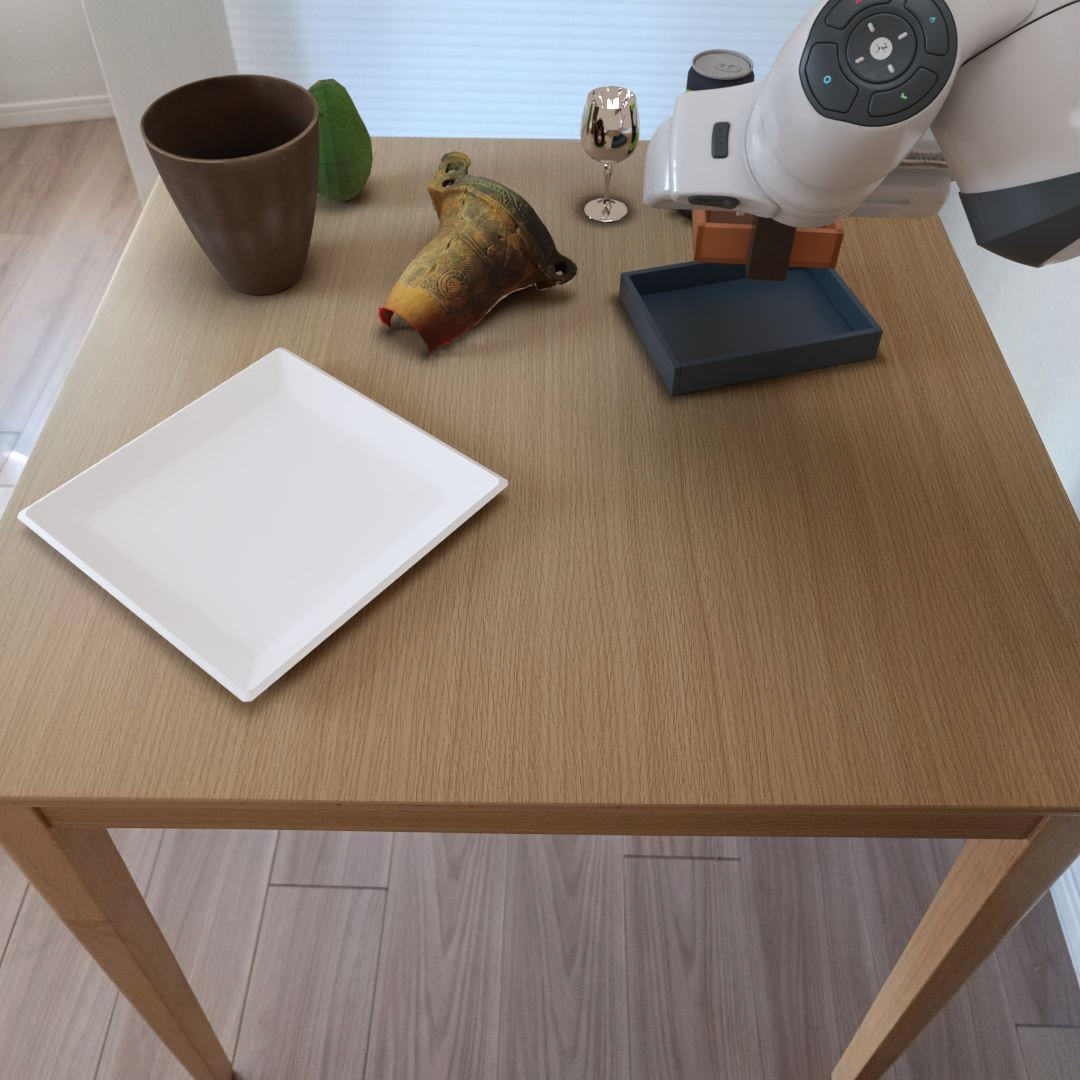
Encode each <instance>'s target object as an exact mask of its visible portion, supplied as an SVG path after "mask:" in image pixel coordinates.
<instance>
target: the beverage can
mask: <svg viewBox="0 0 1080 1080" xmlns="http://www.w3.org/2000/svg"><path fill="white" fill-rule="evenodd" d="M753 69H754V62H753V60H752V59H751V58H750V57H749V56H748V55H746V54H744V53H743V52H739V51H736V50H731V49H723V48H715V49H708V50H704V51H701V52H698V53H697V54H695V55H694V56H693V57H692V59H691V66H690V68H689V69H688V71H687V77H686V87H685V92H690V91H700V90H706V89H715V88H723V87H730V86H738V85H743V84H747V83H751V82H754V81H755V72H754V70H753ZM679 210H680V211H681V213H682V214H684V215H686V216H687V217H689V218H692V210H687V209H679Z"/></svg>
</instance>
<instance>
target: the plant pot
mask: <svg viewBox="0 0 1080 1080" xmlns="http://www.w3.org/2000/svg"><path fill="white" fill-rule="evenodd" d="M139 131H140V134H141V137H142V139H143V141H144V144H145V146H146V148H147V151H148V152H149V155H150V157H151V159H152V161H153V163H154V166H155V167H156V170H157V172H158V174H159V177H160V178H161V181H162V182H163V185H164V186H165V189H166V190H167V192H168V194H169V196H170V198H171V200H172V202H173V204H174V206H175V207H176V210H177V211H178V212H179V214H180V216H181V218H182V220H183V221H184V223H185V225H186V226H187V228H188V230H189V231H190V233H191V234H192V236H193V238H194V239H195V241H196V242H197V244H198V245H199V247H200V248H201V250H202V251H203V253H204V254H205V256H206V257H207V259H209V261H210V262H211V264H212V266H214V268H215V270H216V271H217V272H218V273H219V274H220V276H221V277H222V278H223V279H224V281H225V283H227V285H228V286H229V287H230V288H231V289H233V290H235V291H236V292H239V293H242V294H244V295H250V296H269V295H273V294H277V293H281V292H283V291H285V290H287V289H289V288H291V287H292V286H294V285H296V283H298V282H299V280H300V279H301V278H302V276H303V275H304V274H303V273H304V271H305V266H306V262H307V259H308V255H309V250H310V245H311V240H312V235H313V229H314V223H315V216H316V209H317V199H318V198H317V197H318V194H317V190H318V174H319V108H318V104H317V101H316V99H315V98H314V97H313V95H312V94H311V93H310V92H309V91H308V89H306V88H305V87H304V86H301V85H300V84H298V83H295V82H293V81H291V80H288V79H286V78H281V77H277V76H271V75H264V74H253V73H252V74H250V73H249V74H248V73H246V74H243V73H242V74H226V75H225V74H224V75H219V76H211V77H207V78H203V79H198V80H195V81H192V82H189V83H185V84H183V85H180V86H178V87H176V88H173V89H172V90H170V91H167V92H165V93H164V94H163V95H161V96H159V97H158V98H156V99H155V100H154V101H153V102H152V103H151V104H150V105H149V106H148V107H147V108H146V110H144V112H143V114H142V116H141V119H140V124H139Z"/></svg>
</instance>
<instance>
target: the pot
mask: <svg viewBox="0 0 1080 1080" xmlns="http://www.w3.org/2000/svg"><path fill="white" fill-rule="evenodd" d="M472 164H473V161H472V160H471V158H470V156H469V155H468V154H466V153H464V152H462V151H450V152H447V153H445V154H443V155H442V156H441V158H440V163H439V164H438V166H437V168H436V172H435V174H434V175H433V180H431V181H429V182H427V184H426V188H427V190H426V193H427V194H428V196H429V201H430V202H431V205H432V207H433V210H434V212H436V216H437V220H438V221H439V223H438V229H437V231H436V233H435V235H434V236H433V237H432V238H431V239H430V240H429V241H428V242H427V243H426V244H425V245H424V246H423V247H422V249H421V250H420V251H419V252H418V253H417V254H416V255H415V257H414V258H412V260H411V262H410V263H409V264H408V266H407V267H406V269H405V270H404V271H403V273H402V274H401V276H399V278H398V280H397V281H396V283H395V284H394V285H393V287H392V289H391V291H390V293H389V295H388V296H387V298H386V300H385V304H384V306H382V307H378V312H377V314H378V318H379V320H380V322H381V323H382V324H384V325H386V326H387V327H388V328H389V330H390V329H392V324H391V322H392V318H393V316H394V314H396V315H398V316H399V317H401V318H403V320H404V321H405V322H406V323H408V324H409V325H410V326H411V327H412V328H413V329H414V330H415V331H416V332H417V333H418V334H419V336H420V337H421V338H422V340H423V342H424V344H425V345H426V347H427V351H428V352H429V355H431V354H432V353H433V352H434V351H435V350H437V348H439V347H441V346H443V345H450V344H451V343H452V341H453V340H454V339H456V338H457V339H458V338H459V337H460V336H462V334H465V332H466V331H468V329H471V328H472V327H474V326H476V325H478V323H480V322H481V321H482V320H483V319H484V317H485V315H488V313H489V312H490V311H491V310H492V309H493V308H495V307H496V306H497V304H498V303H499V302H500V301H501V300H503V299H504V298H507V297H508V295H510V294H513V293H514V292H519V291H521V290H526V289H527V288H528V287H529V288H530V287H533V284H534V286H535V287H536V290H537V291H539V292H540V291H546V290H549V289H551V288H555V287H556V286H561V287H562V286H563V285H565V286H567V285H568V284H570V283H572V281H573V280H575V278H576V277H577V275H578V273H577V272H578V270H579V267H578V264H577V263H576V262H575V261H574V260H572V259H571V258H569V257H568V256H566V255H564V254H562V253H561V252H560V251H559V250H558V249H557V247H556V244H555V241H554V238H553V236H552V234H551V233H550V231H549V229H548V228H547V227H546V225H545V224H544V222H543V221H542V220H541V218H540V216H539V215H538V214H537V212H536V211H535V209H534V208H533V206H532V205H531V204H530V203H529V201H528V200H526V199H525V198H524V197H523V196H522V195H520V194H519V193H517V192H515V191H514V190H513V189H511V188H509V187H508V186H505V185H503V184H502V183H500V182H498V181H496V180H492V179H490V178H487V177H484V176H478V175H477V176H476V175H472V174H469V168H470V166H471V165H472ZM450 171H453V172H450ZM447 186H448V187H447ZM559 272H561V273H560V274H559Z"/></svg>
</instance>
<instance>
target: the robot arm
mask: <svg viewBox="0 0 1080 1080" xmlns="http://www.w3.org/2000/svg"><path fill="white" fill-rule="evenodd" d="M928 129H930V132H931V133H932V135H933V137H931V136H924V135H925V134H926V132H927V131H928ZM642 178H643V179H642V203H643V205H645V206H646V207H649V208H653V209H662V210H663V209H664V210H666V209H668V210H680V209H687V210H710V211H733V212H736V214H737V216H759V217H764V218H772V219H774V220H776V221H778V222H780V223H782V224H785V225H788V226H792V227H798V228H817V227H822V226H826V225H829V224H832V223H835V222H837V221H839V220H843V219H844V218H846V217H848V218H851V217H852V218H870V219H871V218H873V219H892V220H893V219H895V220H923V219H924V220H925V219H929V218H932V217H935V216H937V215H938V214H939V213H940V211H941V210H942V209H943V208H944V207H945V205H946V204H947V202H948V200H949V198H950V195H951V186H952V183H953V182H955V184H956V185H957V187H958V189H959V191H958V193H957V194H958V197H959V200H960V203H961V206H962V208H963V210H964V213H965V215H966V219H967V221H968V224H969V227H970V229H971V230H970V231H971V232H972V235H973V238H974V240H975V243H976V245H977V246H978V247H980V248H982V249H985V250H986V251H988V252H990V253H992V254H995V255H997V256H999V257H1001V258H1004V259H1005V260H1008V261H1011V262H1014V263H1017V264H1021V265H1023V266H1028V267H1030V268H1035V269H1040V268H1042V267H1045V266H1050V265H1055V264H1059V263H1063V262H1067V261H1071V260H1072V259H1075V258H1078V257H1080V0H821V1H819V2H818V3H817V4H816V5H814V7H813V8H812V9H811V10H810V11H809V12H808V13H807V15H805V17H803V19H801V21H800V22H799V24H798V25H796V27H795V28H794V30H793V31H792V32H791V33H790V35H789V36H788V37H787V39H786V40H785V42H784V44H783V45H782V47H781V49H780V50H779V52H778V53H777V55H776V58H775V59H774V62H773V63H772V65H771V67H770V70H769V72H768V74H767V76H766V77H764V78H761V79H757V80H754V82H751V83H747V84H743V85H738V86H730V87H723V88H715V89H706V90H700V91H690V92H686V91H685V92H683V93H680V94H678V96H676V100H675V103H674V108H673V113H672V117H670V118H667V119H666V120H664V121H663V122H662V123H660V125H658V127H657V128H656V130H655V132H654V133H653V135H652V136H651V138H650V140H649V143H648V146H647V148H646V151H645V157H644V167H643V177H642Z"/></svg>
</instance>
